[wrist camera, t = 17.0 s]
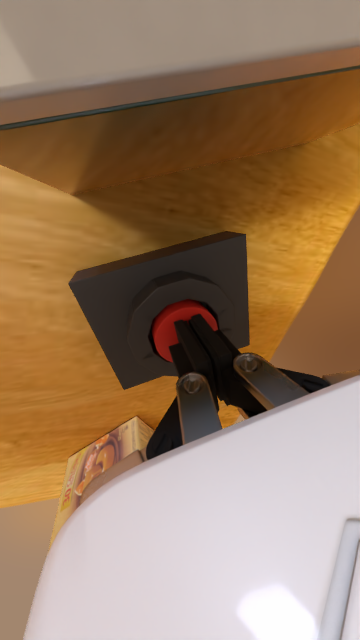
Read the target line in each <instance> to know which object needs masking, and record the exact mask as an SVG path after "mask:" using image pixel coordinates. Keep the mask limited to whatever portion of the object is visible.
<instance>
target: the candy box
mask: <svg viewBox="0 0 360 640" xmlns="http://www.w3.org/2000/svg"><path fill="white" fill-rule="evenodd" d="M153 433H154V430H153V429H152V428H150V427H149V426H148V425H147V424H145V423H144V422H143V421H142V420H141V419H139V418H138V417H137V416H136V417H134V418H133V419H131V420H129V421H127V422H126V423H124V424H122V425H121V426H119V427H118V428H116V429H115V430H113V431H112V432H110V433H108V434H106V435H105V436H103V437H102V438H100V439H98V440H97V441H95V442H94V443H92V444H90V445H89V446H87V447H85V448H84V449H82V450H80V451H79V452H77V453H76V454H74V455H73V456H71V457H69V459H68V463H67V468H66V472H65V477H64V482H63V486H62V491H61V495H60V500H59V505H58V509H57V514H56V519H55V523H54V528H53V532H52V537H51V542H50V546H49V550H50V548H51V545H52V543H53V541H54V539H55V537H56V535H57V534H58V532H59V531H60V529H61V527H62V526H63V525H64V523H65V522H66V521H67V519H68V518H69V517H70V516H71V515H72V514H73V513H74V511H75V510H76V509H77V508H78V507H79V502H80V497H81V495H82V492H83V490H84V489H85V487H86V486H87V484H88V483H89V482H90V481H91V480H92V479H94V478H95V477H96V476H98V475H99V474H101V473H102V472H104V471H105V470H107V469H108V468H110V467H111V466H113V465H114V464H116V463H117V462H119V461H120V460H122V459H123V458H125V457H126V456H128V455H129V454H131V453H132V452H134V451H135V450H137V449H139V450H141V449H143V448H144V447H146V446H147V444H148V442H149V440H150V438H151V436H152V435H153ZM49 550H48V553H49Z"/></svg>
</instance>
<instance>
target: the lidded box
mask: <svg viewBox="0 0 360 640" xmlns="http://www.w3.org/2000/svg"><path fill="white" fill-rule="evenodd" d="M359 123H360V65H358V66H352V67H346V68H340V69H334V70H328V71H322V72H316V73H310V74H304V75H298V76H292V77H286V78H280V79H274V80H268V81H262V82H256V83H250V84H244V85H238V86H232V87H226V88H220V89H214V90H208V91H202V92H196V93H190V94H184V95H178V96H172V97H166V98H160V99H154V100H148V101H142V102H136V103H130V104H124V105H118V106H112V107H106V108H100V109H94V110H88V111H82V112H76V113H69V114H63V115H57V116H51V117H45V118H39V119H33V120H27V121H21V122H15V123H9V124H3V125H0V165H2V166H4V167H7V168H9V169H11V170H14V171H16V172H18V173H21V174H23V175H26V176H28V177H30V178H33V179H35V180H37V181H40V182H42V183H44V184H47V185H49V186H51V187H54V188H56V189H59V190H61V191H63V192H66V193H68V194H70V195H75V194H80V193H84V192H89V191H93V190H98V189H102V188H107V187H111V186H116V185H121V184H125V183H130V182H134V181H139V180H143V179H148V178H152V177H157V176H161V175H166V174H170V173H175V172H179V171H184V170H188V169H193V168H197V167H202V166H207V165H211V164H216V163H220V162H225V161H229V160H234V159H238V158H243V157H247V156H252V155H256V154H261V153H265V152H270V151H274V150H279V149H284V148H288V147H293V146H297V145H302V144H306V143H309V142H312V141H315V140H317V139H320V138H322V137H325V136H328V135H330V134H333V133H336V132H338V131H341V130H343V129H346V128H349V127H351V126H354V125H357V124H359Z"/></svg>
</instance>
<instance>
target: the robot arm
mask: <svg viewBox="0 0 360 640" xmlns="http://www.w3.org/2000/svg"><path fill="white" fill-rule="evenodd" d="M189 325H190V326H189ZM174 327H175V331H176V334H177V338H178V342H179V343H177V344H174V345H171V346H168V347H169V351H170V354H171V357H172V361H173V364H174V367H175V370H176V372H177V375H178V378H179V379H178V381H177V383H176V392H177V396H176V398H175V399H174V401H173V403H172V404H171V406H170V407H169V409H168V411H167V412H166V414H165V415H164V417H163V419H162V420H161V422H160V423H159V425H158V427H157V428H156V430H155V431H154V433H153V435H152V436H151V438H150V440H149V442H148V444H147V446H146V447H144V448H143V449H141V450H139V449H137V450H135V451H134V452H132V453H131V454H129V455H128V456H126V457H125V458H123V459H122V460H120V461H119V462H117V463H116V464H114V465H113V466H111V467H110V468H108V469H107V470H105V471H104V472H102V473H101V474H99V475H98V476H96V477H95V478H94V479H92V480H91V481H90V482H89V483H88V484H87V486H86V487H85V489H84V490H83V492H82V495H81V497H80V502H79V507H78V508H77V509H76V510H75V511H74V513H73V514H72V515H71V516H70V517H69V518H68V519H67V521H66V522H65V523H64V525H63V526H62V527H61V529H60V531H59V532H58V534H57V535H56V537H55V539H54V541H53V543H52V545H51V548H50V550H49V553H48V555H47V558H46V561H45V563H44V566H43V569H42V572H41V576H40V579H39V582H38V585H37V589H36V593H35V596H34V600H33V603H32V607H31V611H30V615H29V619H28V622H27V626H26V630H25V634H24V638H23V640H360V370H356V371H350V372H343V373H336V374H330V375H323V377H322V378H320V377H317V376H313V375H309V374H304V373H299V372H294V371H290V370H285V369H280V368H276V367H274V366H273V365H272V364H270V363H269V362H268V361H266V360H265V359H264V358H262V357H261V356H259V355H257V354H254V353H242V354H241V353H240V352H239V351H238V349H237V348H236V347H235V346H234V345H233V344H232V343H231V341H230V340H229V339H228V338H227V337H226V336H225V335H224V333H223V332H222V331H221V330H216V331H214V330H213V329H212V328H211V326H210V325H209V324H208V323H207V322H206V320H205V319H204V318H203V317H202V315H201V314H197V315H194V316H191V319H189V324H188V322H187V321H183V320H178V321H175V322H174ZM217 396H218V398H219V400H220V401H222V400H224V402H225V403H226V405H227V406H228V405H230V404H231V405H233V406H236V407H237V409H238V411H239V412H240V414H241V415H242V416H243V417H244V418H245V420H244V421H241V422H239V423H236V424H234V425H231V426H229V427H226V428H224V429H222V426H221V423H220V420H219V416H218V411H219V405H218V399H217Z"/></svg>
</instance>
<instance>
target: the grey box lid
mask: <svg viewBox="0 0 360 640" xmlns="http://www.w3.org/2000/svg"><path fill="white" fill-rule="evenodd" d="M358 65H360V0H0V125H3V124H9V123H15V122H21V121H27V120H33V119H39V118H45V117H51V116H57V115H63V114H69V113H76V112H82V111H88V110H94V109H100V108H106V107H112V106H118V105H124V104H130V103H136V102H142V101H148V100H154V99H160V98H166V97H172V96H178V95H184V94H190V93H196V92H202V91H208V90H214V89H220V88H226V87H232V86H238V85H244V84H250V83H256V82H262V81H268V80H274V79H280V78H286V77H292V76H298V75H304V74H310V73H316V72H322V71H328V70H334V69H340V68H346V67H352V66H358Z"/></svg>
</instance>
